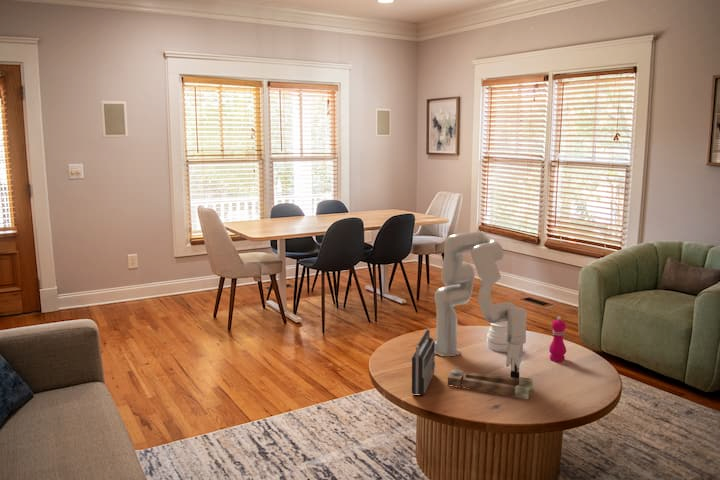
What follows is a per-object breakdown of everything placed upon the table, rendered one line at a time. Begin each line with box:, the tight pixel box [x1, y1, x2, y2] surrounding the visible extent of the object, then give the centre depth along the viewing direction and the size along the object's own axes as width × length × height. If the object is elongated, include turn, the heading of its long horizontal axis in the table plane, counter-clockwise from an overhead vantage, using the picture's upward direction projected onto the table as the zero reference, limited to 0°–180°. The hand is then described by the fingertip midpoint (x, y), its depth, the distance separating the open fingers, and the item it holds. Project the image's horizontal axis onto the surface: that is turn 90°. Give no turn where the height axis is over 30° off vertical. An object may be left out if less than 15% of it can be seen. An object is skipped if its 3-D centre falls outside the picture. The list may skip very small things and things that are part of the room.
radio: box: [411, 328, 436, 396], centre depth 245 cm, size 24×5×20 cm, turn 163°
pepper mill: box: [548, 316, 567, 363], centre depth 270 cm, size 7×7×20 cm
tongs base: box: [447, 369, 531, 400], centre depth 242 cm, size 32×8×4 cm, turn 64°
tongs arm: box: [465, 372, 533, 392], centre depth 244 cm, size 26×3×4 cm, turn 72°
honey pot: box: [486, 321, 508, 352], centre depth 287 cm, size 13×13×18 cm
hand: (514, 380), depth 245 cm, fingers closed
